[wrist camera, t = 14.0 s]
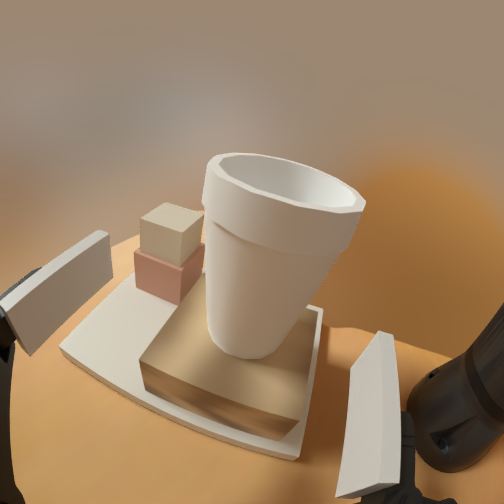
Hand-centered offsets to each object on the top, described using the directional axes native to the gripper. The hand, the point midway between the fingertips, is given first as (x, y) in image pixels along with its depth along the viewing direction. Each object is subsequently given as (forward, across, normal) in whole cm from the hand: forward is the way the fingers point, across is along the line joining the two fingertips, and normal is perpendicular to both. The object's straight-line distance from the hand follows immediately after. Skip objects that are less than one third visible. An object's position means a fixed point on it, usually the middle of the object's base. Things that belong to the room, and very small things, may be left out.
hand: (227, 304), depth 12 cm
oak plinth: (+6, 0, -14) cm, 15 cm away
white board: (+9, -4, -15) cm, 18 cm away
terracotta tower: (+14, -11, -14) cm, 22 cm away
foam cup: (+7, 0, -9) cm, 11 cm away
